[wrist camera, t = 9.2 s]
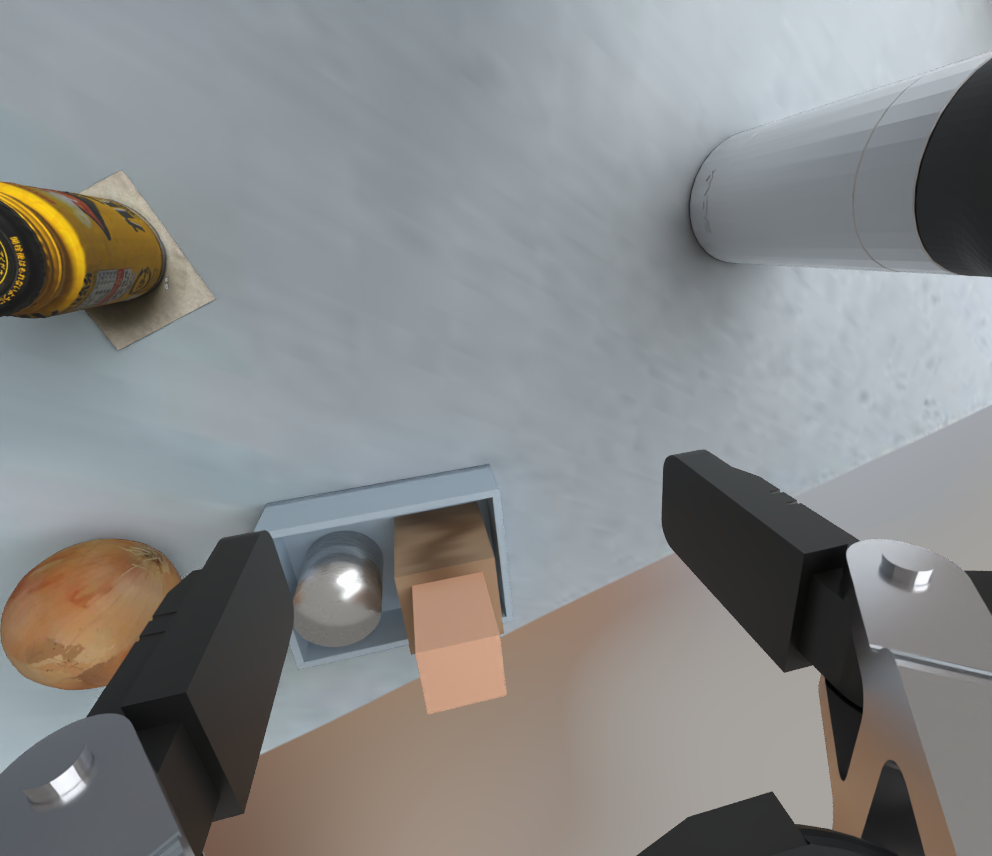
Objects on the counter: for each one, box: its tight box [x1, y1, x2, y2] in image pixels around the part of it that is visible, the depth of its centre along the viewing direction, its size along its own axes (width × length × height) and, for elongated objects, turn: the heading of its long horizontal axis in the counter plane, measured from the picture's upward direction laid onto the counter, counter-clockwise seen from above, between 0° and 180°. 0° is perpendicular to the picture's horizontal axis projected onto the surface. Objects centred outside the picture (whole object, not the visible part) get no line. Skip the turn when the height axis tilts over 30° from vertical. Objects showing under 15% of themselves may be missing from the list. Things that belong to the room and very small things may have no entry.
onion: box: [0, 539, 181, 690], centre depth 33 cm, size 10×10×10 cm
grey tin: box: [293, 530, 383, 647], centre depth 38 cm, size 6×6×6 cm
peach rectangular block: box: [412, 572, 507, 714], centre depth 32 cm, size 5×5×6 cm
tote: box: [253, 464, 514, 670], centre depth 40 cm, size 18×13×4 cm
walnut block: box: [394, 502, 504, 655], centre depth 38 cm, size 7×7×8 cm
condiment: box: [0, 170, 215, 350], centre depth 25 cm, size 7×8×12 cm
